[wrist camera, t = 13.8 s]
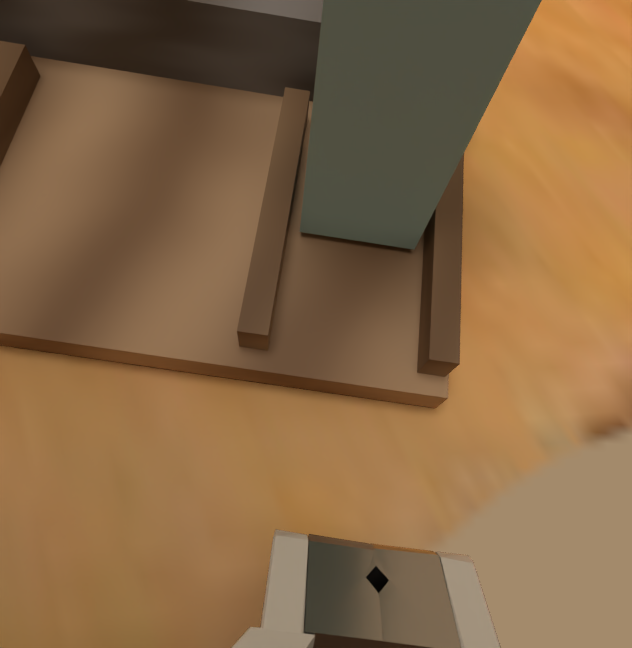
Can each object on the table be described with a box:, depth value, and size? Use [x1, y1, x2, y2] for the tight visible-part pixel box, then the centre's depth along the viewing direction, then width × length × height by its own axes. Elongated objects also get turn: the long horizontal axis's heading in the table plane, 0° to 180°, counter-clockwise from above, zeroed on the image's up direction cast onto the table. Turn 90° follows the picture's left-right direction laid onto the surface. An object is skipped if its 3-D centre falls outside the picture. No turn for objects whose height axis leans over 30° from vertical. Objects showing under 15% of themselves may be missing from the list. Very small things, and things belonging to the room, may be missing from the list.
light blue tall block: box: [300, 0, 541, 249], centre depth 11 cm, size 4×4×11 cm
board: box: [0, 0, 464, 408], centre depth 16 cm, size 20×12×4 cm, turn 83°
